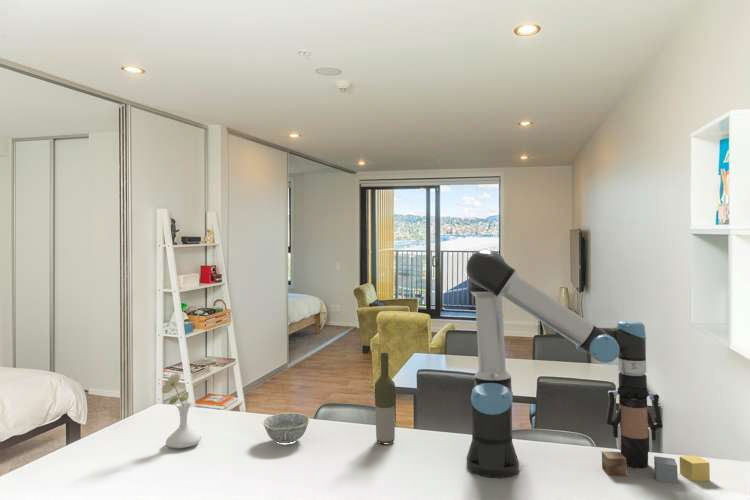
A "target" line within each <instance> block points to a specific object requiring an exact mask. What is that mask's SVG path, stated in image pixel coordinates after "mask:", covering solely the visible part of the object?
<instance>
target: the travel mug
mask: <svg viewBox="0 0 750 500" xmlns="http://www.w3.org/2000/svg"><path fill="white" fill-rule="evenodd" d="M618 398H619V399H618V401H619V404H618V408H621V420H620V422H619V426H620V428H621V450H620V453H621V454H622V455H623V456H624V457H625V458H626V462H627V467H631V468H634V469H646V468H648V466H649V451H648V427H649V424H648V414H647V410H648V397H647V398H646V399H643V400H638V399H635V398H631V399H627V398H623V397H621V396H619V395H618Z"/></svg>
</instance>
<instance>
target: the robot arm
mask: <svg viewBox="0 0 750 500" xmlns="http://www.w3.org/2000/svg"><path fill="white" fill-rule="evenodd" d="M466 274H467V277H468V278H469V292H470V293H471V295H472V296H473V297H474V298H475V313H476V314H475V318H476V319H475V321H476V335H477V336H476V338H477V339H476V340H477V356H478V357H477V359H478V370H477V371H476V373H475V374H474V387H473V388H472V390H471V396H470V401H471V443H470V445H469V448H468V451H467V455H466V468H468V470H469V471H471V472H472V473H474V474H476V475H479V476H483V477H488V478H499V479H500V478H508V477H512V476H514V475H516V474H517V473H518V472H519V471H520V464H519V463H520V461H519V458H518V455H517V452H516V448H515V446H514V442H513V402H514V395H513V390H512V389H513V387H512V375H511V374H510V373H509V372H508V371H507V368H506V367H507V366H506V364H507V363H506V349H505V348H506V347H505V328H504V309H503V307H504V306H503V298H505V299H507V300H508V301H510V302H511V303H513V304H514V305H515V306H517V307H519V308H520V309H522V310H523V311H525V312H526V313H527V314H529V315H531V316H532V317H534V318H535V319H536V320H538V321H540V322H541V323H543V324H544V325H545V326H547V327H549V328H550V329H552V330H553V331H555V332H556V333H558V334H559V335H561V336H562V337H563V338H565V339H567V340H568V341H570V342H571V343H573V344H575V348H576V351H578V352H583V353H584V352H585V353H587V354H589V355H591V358H593V359H594V360H596V361H598V362H599V363H604V364H606V363H612V362H613V361H615V360H617V359H618V360H617V361H618V362H617V366H618V367H617V370H618V371H619V373H618V388H616V390H612V389H609V390H607V395H608V401H607V409H606V416H605V422H606V423H607V425H609V426H611V427H612V436H613V437H614V438H616V448H617V449H618V451H621V428H620V424H619V422H620V420H621V408H619V407H617V410H616V413H615V415H614V417H613V414H614V408H615V401H616V400H615V399H617V396H618V397H619V396H621V397H623V398H627V399H631V398H635V399H638V400H643V399H646V398H647V399H648V398H649V400H650V401H651V406H652V412H653V416H654V420H655V422H654V421H653V419H652V417H651V415H650V413H649V410H648V409H647V414H648V453H653V441H656V439H657V437H656V435H657V433H656V431H657V429H662V428H663V420H662V416H661V411H660V407H659V406H660V405H659V401H660V396H659V394H657V393H656V392H649V391H648V387H647V386H648V385H647V384H648V383H647V381H648V380H647V379H648V378H647V375H646V373H647V354H646V353H647V351H646V349H647V346H646V345H647V344H646V343H647V341H646V339H647V337H646V328H645V325H644V323H643V322H640V321H635V320H634V321H633V320H620V321H618V322H617V323H616V327H597V326H596V325H594V324H593V323H592V322H589V321H588V320H587V319H585V318H584V317H582V316H580V315H579V314H577V313H576V312H574V311H573V310H571V309H570V308H569V307H567V306H565V305H564V304H563V303H561V302H559V301H558V300H556V299H555V298H553V297H552V296H550V295H549V294H547V293H545V291H544V292H543V290H540V288H538V287H536V286H535V285H533V284H532V283H530V282H529V281H527V280H525V279H524V278H523V277H521V276H519V275H518V271H517V269H515V268H513V267H511V266H510V265H509V264H508V263H506V261H505V259H504V258H503V256H502V255H501V254H500V253H498V252H496V251H494V250H491V249H490V250H489V249H482V250H478V251H476V252H474V253H473V254H472V255H470V256H469V259H468V260H467V264H466Z"/></svg>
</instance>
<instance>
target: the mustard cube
mask: <svg viewBox="0 0 750 500" xmlns="http://www.w3.org/2000/svg"><path fill="white" fill-rule="evenodd" d="M710 468H711V467H710V462H709V461H707V460H706V459H704V458H702V457H700V456H698V455H682V456H681V455H679V474H680V475H681V476H683V477H684V478H686V479H688V480H690V481H691V482H707V481H708V482H709V481H710V479H711V476H710V475H711V472H710Z"/></svg>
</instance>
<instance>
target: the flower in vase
mask: <svg viewBox="0 0 750 500" xmlns="http://www.w3.org/2000/svg"><path fill="white" fill-rule="evenodd" d="M180 379H181V373H178V372H175V373H174V374H171V375H170V376H169V378H168V379H167V380H165V382H164V385H163V386H162V388H161V390H162V391H161V393H163V394H169V393H170V392H172V391H173V390H174V389H175V392H176V393H177V394H176V395H177V396H175V397H173V398H171V399H170V401H168V405H174V404H175V403H176V402H177V401H178V400H179V401H180V402H179V403H177V404H175V407H176V408H177V409H178V412H179V426H178V427H177V429H176V430H175V431H173V432H172V433H171V434H170V435H169V436H168V437H167V438H166V440H165V445H166V446H167V447H168V448H171V449H185V447H186V448H190V447H193V446H195V445H197V444H199V443H200V442H201V440H202V435H201V434H200V433H199V432H198V431H196V430H195V429H193V428H191V426H189V423H188V413H189V409H190V407H192V402H189V401H187V402H186V400H188V399H189V396H190V395H189V394H190V393H189V391H187V392H185V393H183V394H182V395H181V396H180V395H179V392H178V389H177V385H178V384H179V382H180Z"/></svg>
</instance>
